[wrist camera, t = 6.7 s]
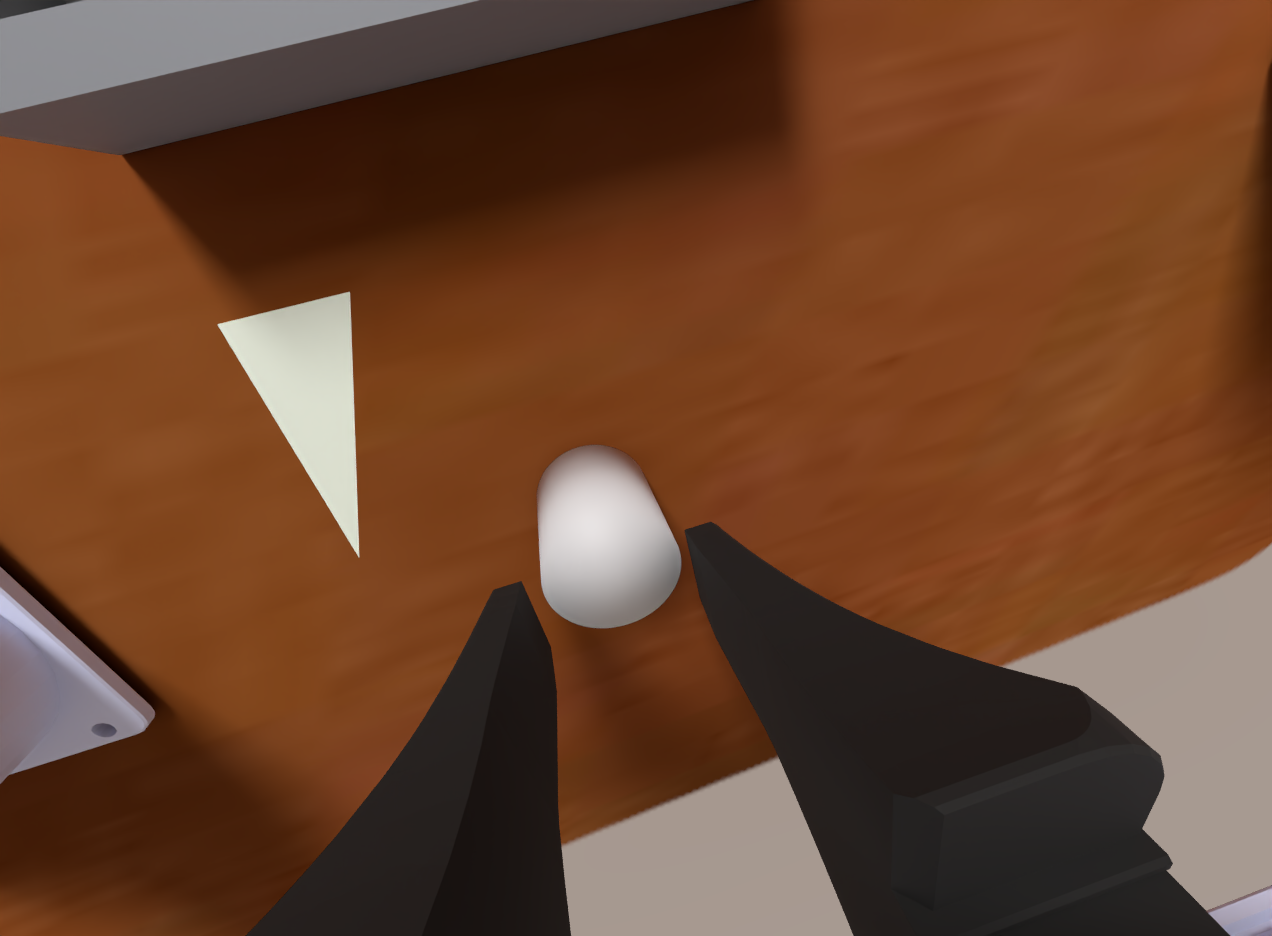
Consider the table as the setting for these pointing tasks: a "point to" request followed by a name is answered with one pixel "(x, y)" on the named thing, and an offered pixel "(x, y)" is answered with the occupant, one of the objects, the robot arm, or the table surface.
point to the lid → (567, 492)
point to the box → (260, 57)
